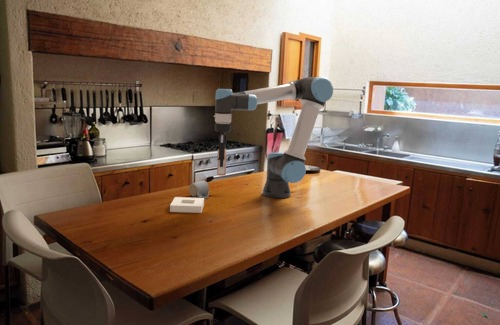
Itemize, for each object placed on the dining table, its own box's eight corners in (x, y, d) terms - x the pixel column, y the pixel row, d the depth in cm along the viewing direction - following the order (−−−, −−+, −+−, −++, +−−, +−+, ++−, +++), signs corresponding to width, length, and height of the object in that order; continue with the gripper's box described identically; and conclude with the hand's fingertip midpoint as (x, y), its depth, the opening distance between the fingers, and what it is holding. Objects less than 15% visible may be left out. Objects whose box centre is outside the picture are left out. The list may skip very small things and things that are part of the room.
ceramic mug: (187, 195, 212) (188, 181, 211) (200, 193, 218) (201, 179, 216) (199, 200, 205) (200, 185, 203) (212, 198, 210) (213, 183, 209)
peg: (225, 173, 196) (226, 149, 193) (225, 175, 192) (226, 150, 189) (217, 173, 195) (218, 148, 193) (216, 175, 192) (217, 150, 189)
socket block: (204, 204, 198) (204, 198, 198) (201, 212, 184) (201, 206, 184) (174, 203, 198) (175, 197, 197) (169, 211, 184) (170, 205, 183)
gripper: (216, 120, 197) (214, 168, 202) (213, 124, 181) (212, 176, 185) (231, 121, 198) (230, 169, 202) (230, 124, 181) (228, 176, 185)
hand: (221, 172), depth 193 cm, fingers closed on peg, 4 cm apart
